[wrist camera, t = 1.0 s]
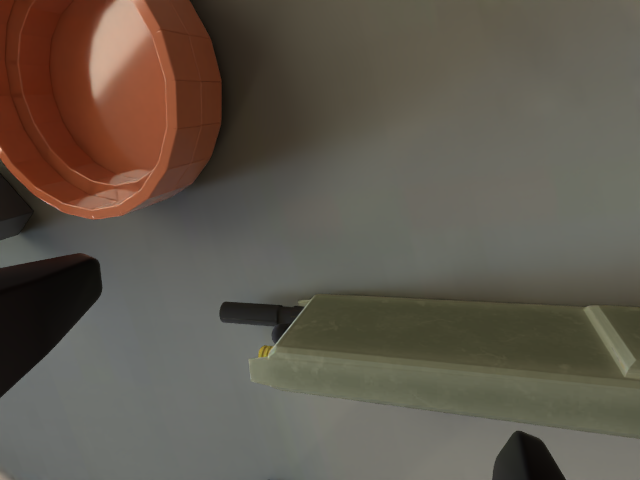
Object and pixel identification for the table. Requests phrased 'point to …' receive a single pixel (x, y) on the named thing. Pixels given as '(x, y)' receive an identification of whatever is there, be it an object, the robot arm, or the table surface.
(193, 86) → the bowl
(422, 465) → the table surface
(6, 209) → the remote
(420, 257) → the table surface
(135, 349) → the table surface
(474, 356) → the handheld radio
